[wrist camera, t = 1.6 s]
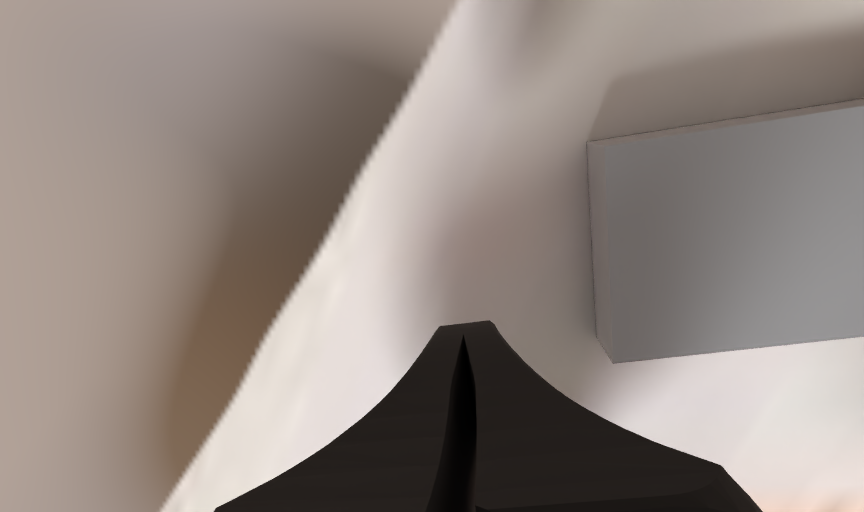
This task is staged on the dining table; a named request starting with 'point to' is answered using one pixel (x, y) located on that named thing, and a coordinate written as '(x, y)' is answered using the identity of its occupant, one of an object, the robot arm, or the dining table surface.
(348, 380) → the dining table surface
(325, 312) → the dining table surface
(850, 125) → the grey shell
